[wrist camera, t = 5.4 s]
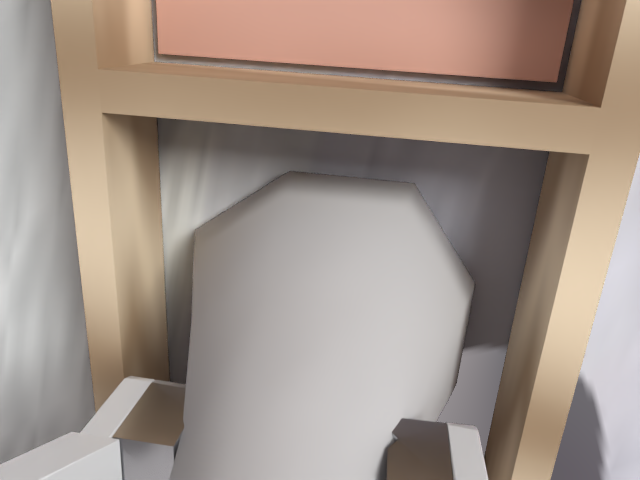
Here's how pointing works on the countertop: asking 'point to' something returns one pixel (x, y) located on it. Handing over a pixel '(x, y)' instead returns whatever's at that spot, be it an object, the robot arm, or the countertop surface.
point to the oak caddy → (361, 119)
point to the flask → (318, 330)
